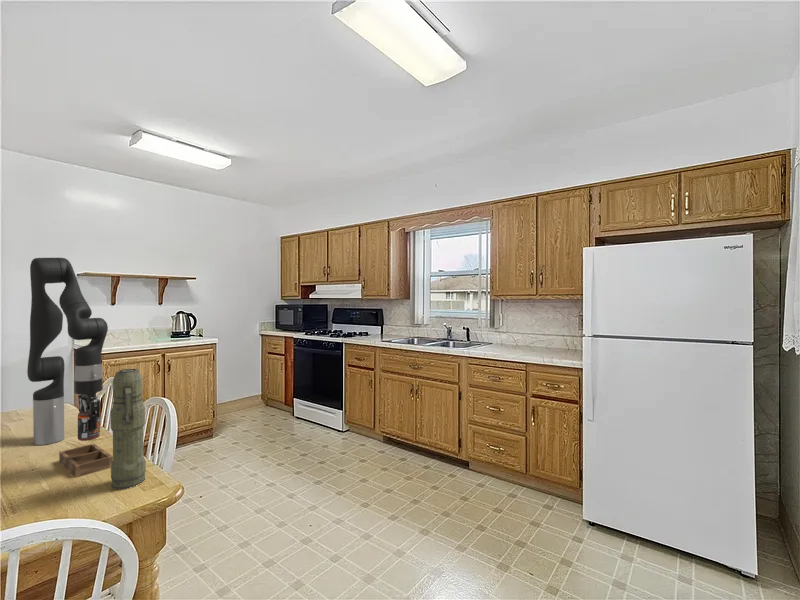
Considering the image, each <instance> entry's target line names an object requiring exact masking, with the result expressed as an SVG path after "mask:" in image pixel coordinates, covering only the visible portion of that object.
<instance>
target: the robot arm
mask: <svg viewBox="0 0 800 600" xmlns="http://www.w3.org/2000/svg"><path fill="white" fill-rule="evenodd" d="M29 266H30V267H29V268H30V269H29V271H30V272H29V274H30V275H29V276H30V291H31V300H30V301H31V304H30V306H31V307H30V317H29V352H28V361H27V370H26V373H27V379H28V380H29V381H30V382H32V383H39V382H45V381H46V382H48V381H52V382H51V383H50V384H48V385H47V386H44V387H42V388H39V389H37V390H35V391H34V392H33V393H32V421H33V423H32V424H33V429H32V430H33V434H32V435H33V445H36V446H44V445H50V444H55V443H58V442H60V441H63V440H64V439H65V393H64V392H65V390H64V389H65V388H64V384H65V382H64V380H65V365H66V364H65V360H64V358H63V356H60V355H57V356H56V355H55V356H44V357H42V355H43V354H44V351H46V349H47V348H48V347H49V346H50V344H52V342H54V341H55V340H56V339H57V337H58V336H59V335H60V334H61V332H62V330H63V323H64V322H63V319H64V316H65V317H66V324H67V334H68V336H69V337H70V338H71V339H73V340H75V341H83V340H84V341H85V340H86V341H87V340H90V341H89V343H88V344H87V345H83V346H80V347H77V348H76V349H75V352H74V357H75V358H74V365H75V366H74V371H73V372H74V373H73V376H74V378H73V379H74V380H73V381H74V383H73V385H74V387H73V389H74V394H76V395H77V397H78V413H79V412H81V410H82V405H84V409H85V413H87V416H88V430H89V431H91V430H96V429H97V418H98V417H99V416H100V417H101V412H100V411H101V399H99V397H97V393H99V392H102V391H103V389H104V384H103V383H104V382H103V380H104V378H103V374H104V373H103V372H104V370H103V365H102V360H103V359H102V358H103V357H102V351H103V348H104V347H103V346H104V343H105V340H106V336H107V335H108V334H107V333H108V330H109V329H108V328H109V325H108V323H107V321H106V320H105V319H104V318H102V317H91V316H92V309H91V306H90V305H89V303H88V302H87V301H86V299H85V298H84V295H83V293H82V290H81V288H80V285H79V281H78V279H77V275H76V274H75V270H74V268H73V266H72V263H71V262H70V261H69V259H67V258H66V257H35V258H33V259H32V260H31V262H30V265H29ZM62 283H64V285H65V286H64V288H63V290H62V292H61V294H60V296H59V299H58V300H59V301H58V302H59V306H60V307H59V306H58V304H56V303H55V302H54V300H52V298H51V297H50V296H49V295H48V293H47V291H46V284H62ZM62 311H63V312H62ZM63 313H64V314H63ZM93 412H94V414H93V415H92V413H93Z"/></svg>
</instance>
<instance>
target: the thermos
mask: <svg viewBox="0 0 800 600" xmlns="http://www.w3.org/2000/svg"><path fill="white" fill-rule="evenodd" d="M143 389H144V388H143V376H142V374H141V371H140V370H139V369H137V368H125V369H120V370H118V371H117V372H116V371H115V374H114V377H113V380H112V398H113V401H112V407H111V410H110V430H111V431H112V456H113V462H112V466H111V468H110V479H111V488H112V489H113V490H128V489H131V488H130V487H132V488H134V487H133V486H135V487H137V486H136V485H138V484H140V483H142V482H143V481H144V480H145V481H146V470H147V469H146V467H147V464H146V463H147V462H146V459H145V457H144V450H145V448H144V427H145V424H146V406H145V403H144V401H143V400H144V399H143ZM145 481H144V482H145ZM144 482H143V483H144ZM143 483H142V484H143ZM140 485H141V484H140ZM138 486H139V485H138ZM127 488H128V489H127Z"/></svg>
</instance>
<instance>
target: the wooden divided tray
mask: <svg viewBox="0 0 800 600" xmlns="http://www.w3.org/2000/svg"><path fill="white" fill-rule="evenodd" d="M58 453H59V455H58V456H59V457H58V460H59V464H61V465H62V466H63V467H64V468H65V469H67V471H69V472H70V474H71V475H73V476H74V477H75V478H79V477H82V476H86V475H88V474H93V473H97V472H100V471H103V470H107V469H111V466H112V462H113V455H111V454H110V453H108V451H106V450H104V449H102V448H101V447H100V446H98V445H97V444H95V443H91V444H87V445H82V446H78V447H73V448H70V449H66V450H65V449H64V450H63V451H62V450H61V451H59V452H58Z"/></svg>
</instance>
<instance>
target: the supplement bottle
mask: <svg viewBox="0 0 800 600" xmlns="http://www.w3.org/2000/svg"><path fill="white" fill-rule="evenodd" d="M93 414H94V412H93V413H92V415H93ZM100 435H101V415H100V416H99V417H98V418H97V429H96V430H91V431H89V430H88V416H87V413H85V409H84V405H82V410H81V412H79V411H78V414H77V440H78V441H82V442H88V441H93V440H96V439H98V438H99V437H100Z"/></svg>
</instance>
